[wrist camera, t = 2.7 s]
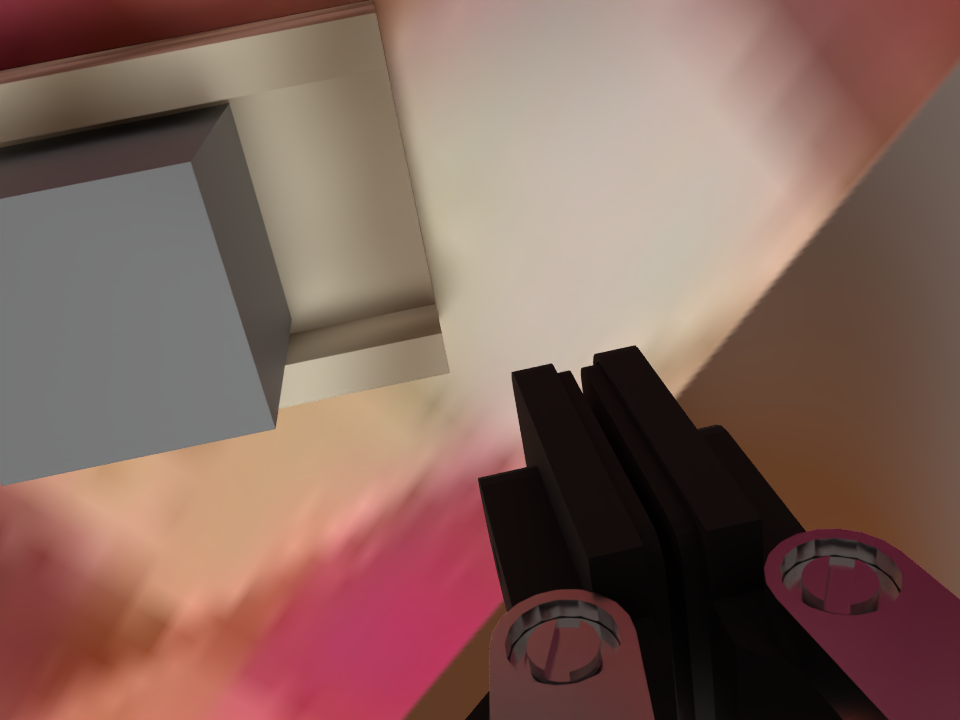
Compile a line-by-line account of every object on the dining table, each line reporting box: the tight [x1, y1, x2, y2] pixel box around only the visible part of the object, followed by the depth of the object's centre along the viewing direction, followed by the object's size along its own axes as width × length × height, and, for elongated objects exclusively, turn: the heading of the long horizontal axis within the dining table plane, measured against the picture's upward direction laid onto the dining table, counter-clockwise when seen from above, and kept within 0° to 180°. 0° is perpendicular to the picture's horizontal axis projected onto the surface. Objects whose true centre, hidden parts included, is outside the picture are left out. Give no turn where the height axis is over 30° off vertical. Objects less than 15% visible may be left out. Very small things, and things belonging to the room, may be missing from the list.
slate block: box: [0, 103, 292, 486], centre depth 21 cm, size 6×6×6 cm
